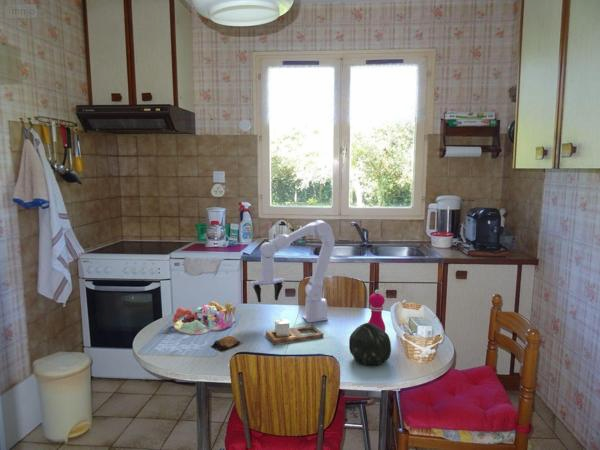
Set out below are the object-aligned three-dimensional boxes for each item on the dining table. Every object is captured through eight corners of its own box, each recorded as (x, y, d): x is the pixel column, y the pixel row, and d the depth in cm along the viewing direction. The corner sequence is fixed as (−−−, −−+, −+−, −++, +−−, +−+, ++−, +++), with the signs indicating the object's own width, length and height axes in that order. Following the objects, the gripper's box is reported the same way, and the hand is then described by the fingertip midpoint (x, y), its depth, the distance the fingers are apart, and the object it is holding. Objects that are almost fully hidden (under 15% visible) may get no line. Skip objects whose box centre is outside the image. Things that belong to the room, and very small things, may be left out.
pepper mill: (387, 337, 172) (388, 288, 169) (382, 344, 165) (384, 293, 163) (369, 334, 175) (370, 286, 172) (364, 340, 168) (365, 291, 166)
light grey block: (287, 335, 174) (287, 318, 173) (289, 340, 169) (289, 323, 168) (274, 336, 173) (274, 319, 172) (276, 341, 168) (276, 324, 167)
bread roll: (229, 339, 171) (229, 330, 171) (244, 344, 166) (244, 335, 165) (208, 347, 163) (207, 338, 163) (222, 353, 158) (222, 344, 157)
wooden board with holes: (313, 328, 181) (313, 324, 181) (323, 337, 172) (323, 333, 171) (266, 335, 174) (266, 331, 174) (274, 345, 164) (274, 340, 164)
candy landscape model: (204, 312, 203) (203, 292, 202) (245, 320, 192) (245, 300, 191) (164, 329, 181) (163, 308, 180) (208, 339, 170) (207, 317, 169)
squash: (390, 336, 159) (364, 308, 156) (405, 354, 144) (377, 324, 141) (361, 361, 159) (335, 334, 156) (373, 383, 145) (345, 353, 141)
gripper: (280, 266, 193) (280, 296, 195) (248, 269, 188) (249, 299, 189) (285, 270, 186) (285, 300, 188) (253, 273, 181) (253, 304, 183)
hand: (267, 300), depth 188 cm, fingers open, 7 cm apart
